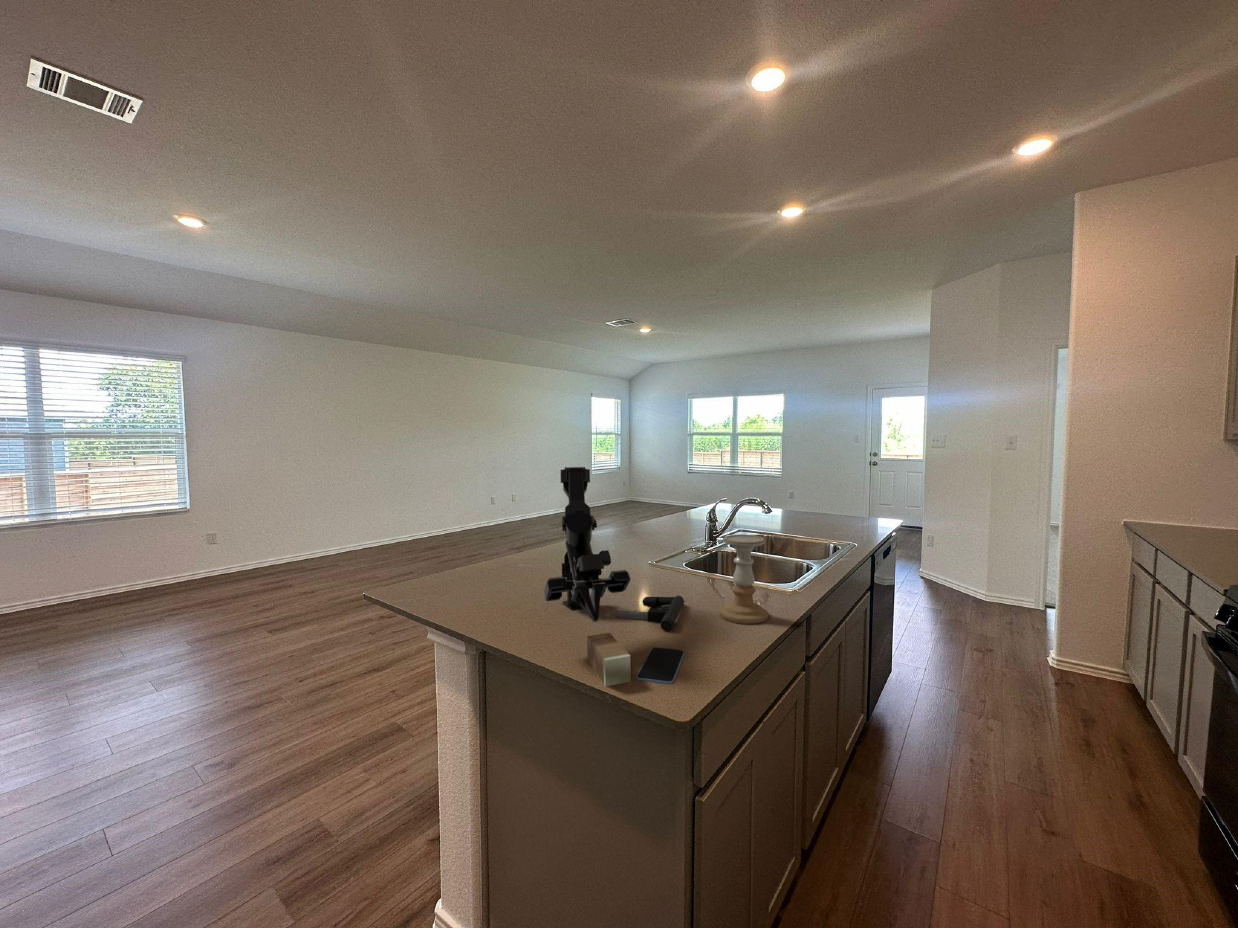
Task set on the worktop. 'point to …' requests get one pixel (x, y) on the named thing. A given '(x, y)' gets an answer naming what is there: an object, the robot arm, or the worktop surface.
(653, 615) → the door handle
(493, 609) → the worktop surface
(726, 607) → the candle holder
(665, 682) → the smartphone
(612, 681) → the beige wooden block
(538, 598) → the worktop surface
